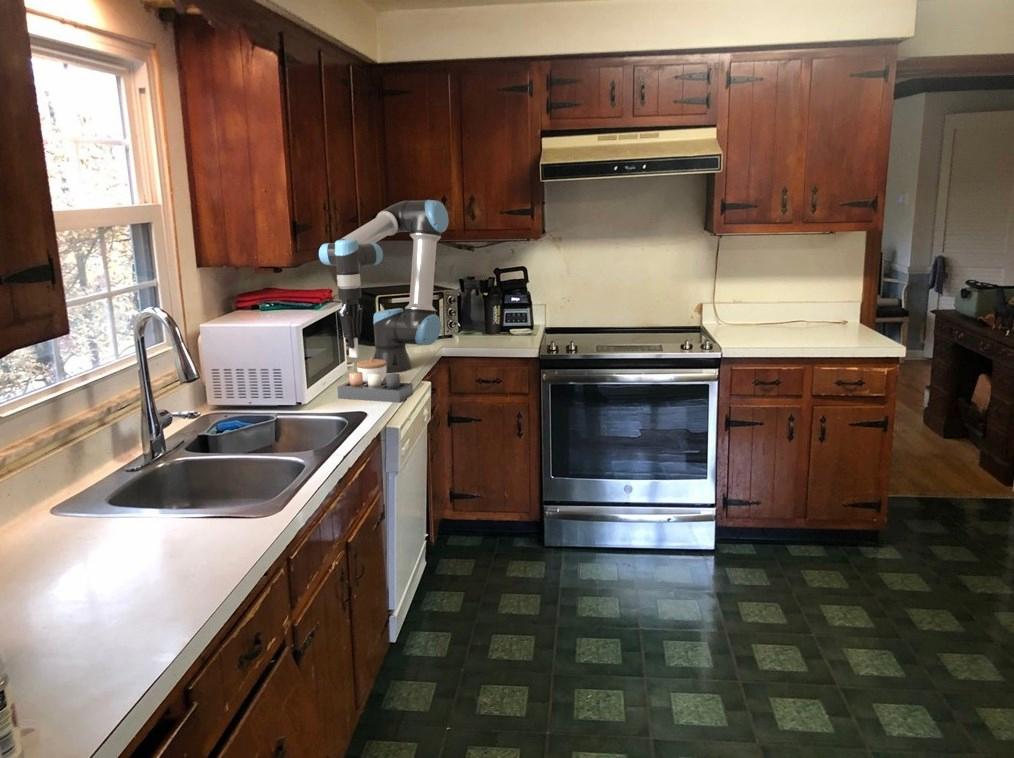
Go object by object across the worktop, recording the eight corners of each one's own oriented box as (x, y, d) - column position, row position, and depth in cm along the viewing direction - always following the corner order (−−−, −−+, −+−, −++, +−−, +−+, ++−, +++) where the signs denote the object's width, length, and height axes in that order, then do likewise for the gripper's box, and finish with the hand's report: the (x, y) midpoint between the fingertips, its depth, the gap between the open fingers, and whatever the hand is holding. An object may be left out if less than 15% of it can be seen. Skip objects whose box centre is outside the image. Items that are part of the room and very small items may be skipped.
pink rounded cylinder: (354, 385, 272) (353, 371, 271) (365, 386, 271) (364, 372, 270) (347, 388, 268) (346, 374, 267) (359, 389, 267) (358, 375, 266)
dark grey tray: (352, 391, 276) (352, 379, 275) (412, 394, 269) (412, 383, 268) (338, 398, 267) (337, 386, 266) (399, 402, 260) (399, 390, 259)
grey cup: (390, 387, 268) (389, 373, 267) (402, 388, 266) (401, 374, 265) (384, 390, 264) (383, 376, 263) (396, 391, 262) (395, 377, 261)
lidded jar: (361, 388, 280) (359, 362, 278) (355, 381, 290) (353, 356, 287) (391, 384, 284) (389, 359, 282) (384, 378, 294) (382, 353, 291)
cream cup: (372, 386, 270) (371, 372, 269) (383, 387, 269) (383, 373, 267) (366, 389, 266) (365, 375, 265) (377, 390, 265) (376, 376, 263)
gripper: (349, 284, 269) (353, 352, 274) (328, 289, 257) (334, 360, 262) (368, 284, 266) (373, 353, 272) (349, 289, 254) (354, 361, 260)
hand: (354, 356), depth 267 cm, fingers closed
